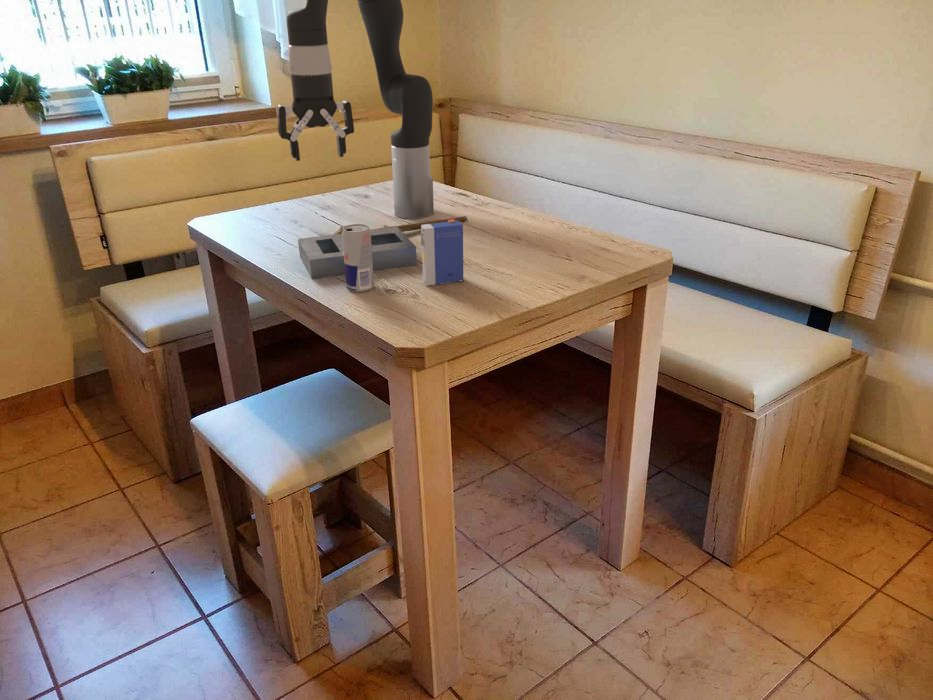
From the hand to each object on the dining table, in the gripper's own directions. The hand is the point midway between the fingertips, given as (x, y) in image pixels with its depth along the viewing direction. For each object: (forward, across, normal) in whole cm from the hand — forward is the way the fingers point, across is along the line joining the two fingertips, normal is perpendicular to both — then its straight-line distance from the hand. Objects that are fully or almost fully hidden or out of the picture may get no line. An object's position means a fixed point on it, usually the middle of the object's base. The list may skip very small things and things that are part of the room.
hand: (319, 158), depth 147 cm
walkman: (+22, -19, +18) cm, 34 cm away
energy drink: (+22, -3, +15) cm, 27 cm away
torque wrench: (+23, -20, -14) cm, 33 cm away
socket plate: (+22, -6, 0) cm, 23 cm away
